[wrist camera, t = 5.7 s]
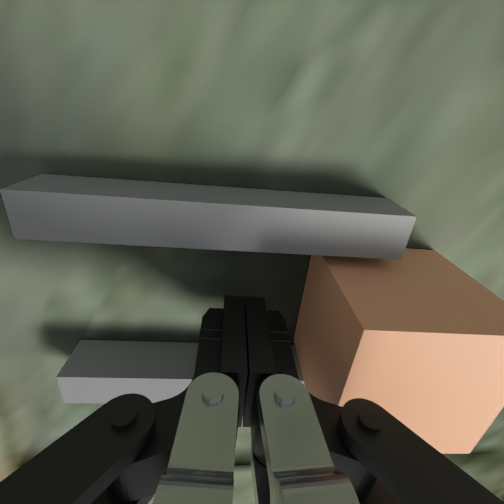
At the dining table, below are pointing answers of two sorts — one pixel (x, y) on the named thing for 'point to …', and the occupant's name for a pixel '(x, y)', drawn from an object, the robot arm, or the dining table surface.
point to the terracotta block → (405, 343)
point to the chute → (194, 237)
